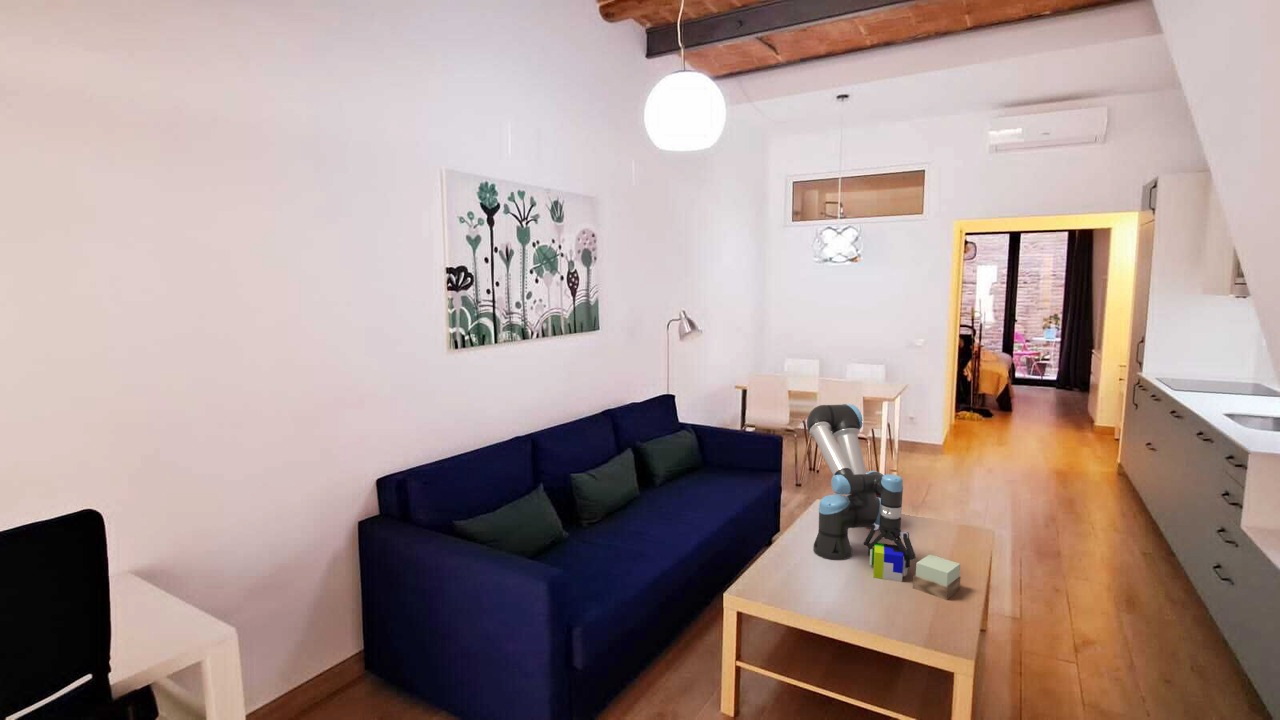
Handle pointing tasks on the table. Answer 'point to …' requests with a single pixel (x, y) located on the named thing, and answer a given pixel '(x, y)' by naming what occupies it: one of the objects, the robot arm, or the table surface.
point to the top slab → (938, 570)
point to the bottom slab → (936, 587)
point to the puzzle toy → (887, 562)
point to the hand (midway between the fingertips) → (887, 569)
